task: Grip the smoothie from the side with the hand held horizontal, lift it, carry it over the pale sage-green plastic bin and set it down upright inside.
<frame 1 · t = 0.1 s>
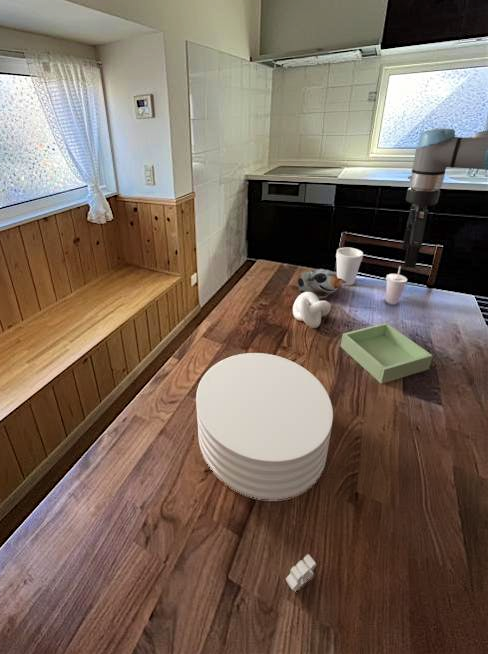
hand: (408, 257, 102), 23 cm above the table, tool pointing down, fingers open, 13 cm apart
plate stack: (260, 435, 76), on the table
white puffy blob: (311, 321, 113), on the table
bin: (382, 357, 96), on the table
smoothie: (391, 301, 121), on the table
foam cup: (345, 281, 136), on the table
white stepped block: (299, 582, 53), on the table
grey animal head: (319, 293, 129), on the table
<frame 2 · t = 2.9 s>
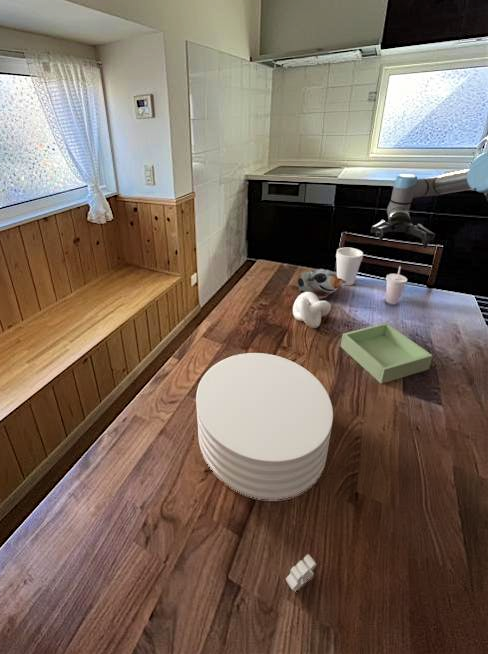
hand: (403, 241, 118), 20 cm above the table, tool horizontal, fingers open, 13 cm apart
nothing on the table moved.
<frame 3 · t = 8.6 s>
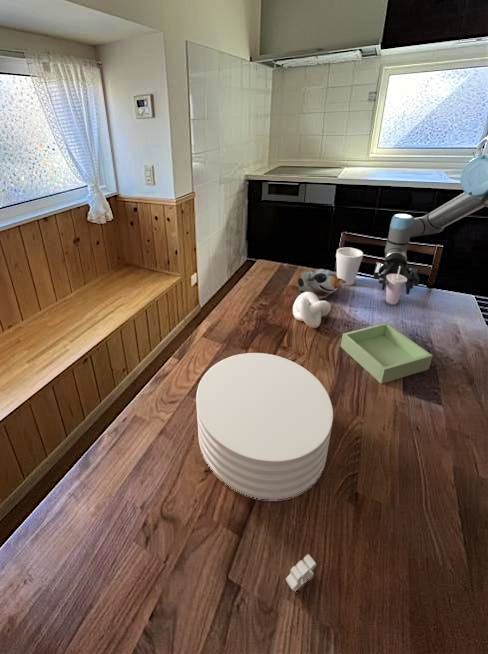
hand: (395, 288, 114), 8 cm above the table, tool horizontal, fingers closed on smoothie, 6 cm apart
smoothie: (391, 301, 121), on the table, touching gripper
everything else where it was.
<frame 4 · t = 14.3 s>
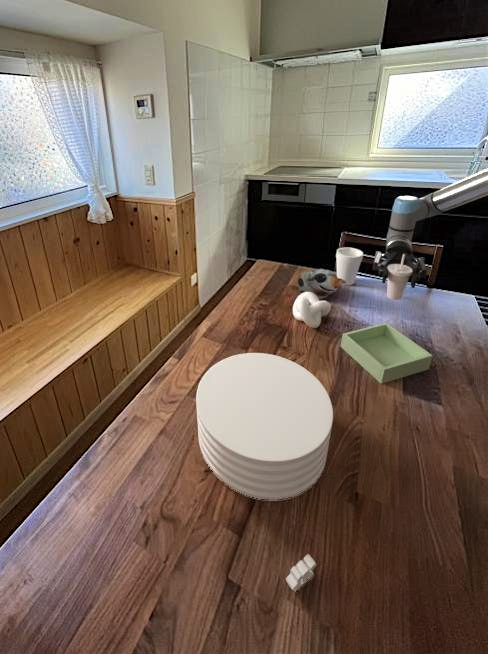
hand: (399, 281, 95), 20 cm above the table, tool horizontal, fingers closed on smoothie, 6 cm apart
smoothie: (393, 297, 102), point 12 cm above the table, touching gripper
everything else where it was.
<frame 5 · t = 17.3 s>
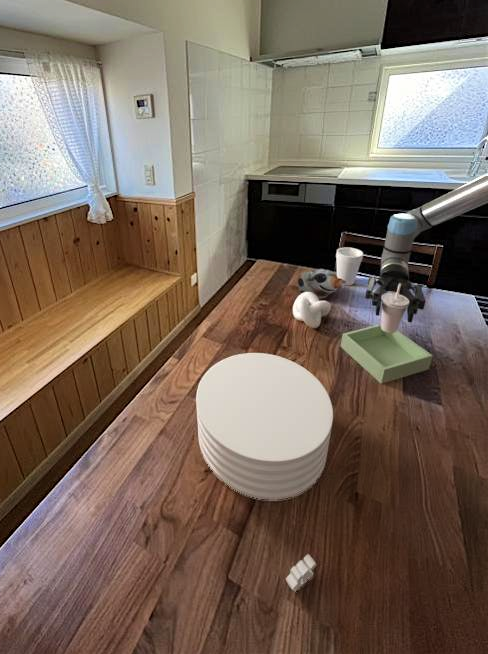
hand: (394, 314, 85), 18 cm above the table, tool horizontal, fingers closed on smoothie, 6 cm apart
smoothie: (388, 329, 92), point 10 cm above the table, touching gripper
everything else where it was.
when the fingers open (9 cm above the table, at t = 20.0 s): smoothie stays where it is, resting on bin.
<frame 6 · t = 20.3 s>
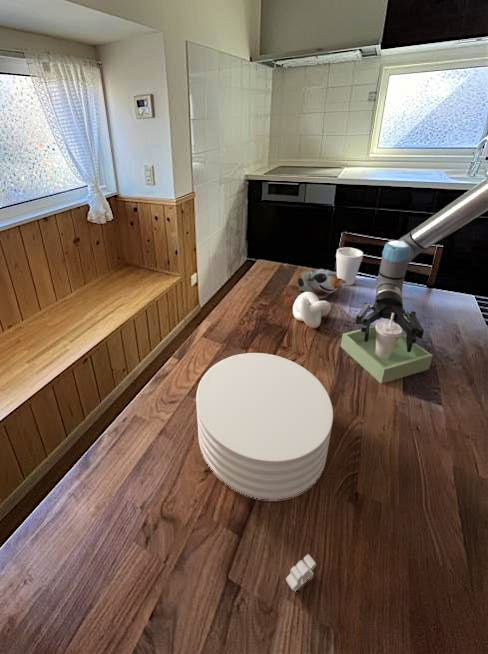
hand: (387, 342, 89), 9 cm above the table, tool horizontal, fingers open, 9 cm apart
smoothie: (382, 355, 95), point 1 cm above the table, touching bin
everything else where it was.
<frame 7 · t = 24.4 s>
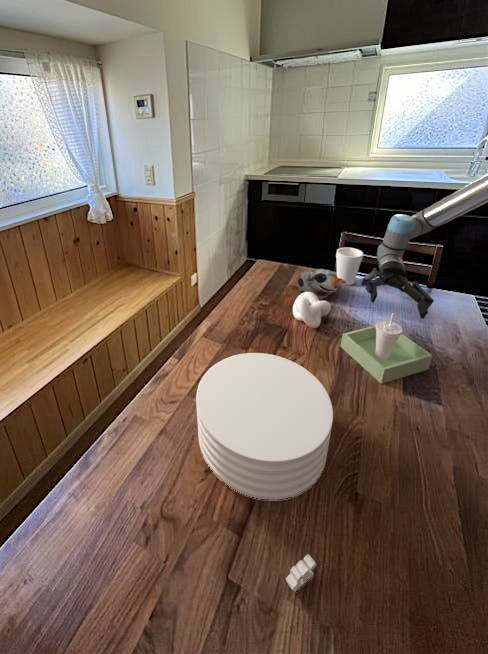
hand: (398, 307, 98), 11 cm above the table, tool horizontal, fingers open, 13 cm apart
nothing on the table moved.
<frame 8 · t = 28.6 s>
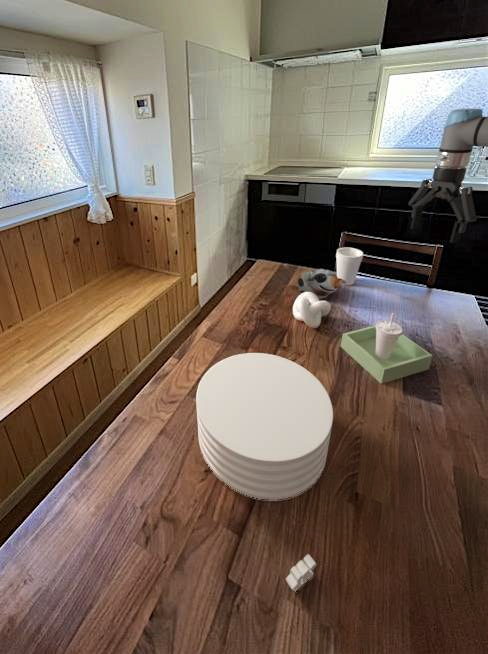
hand: (433, 234, 107), 27 cm above the table, tool pointing down, fingers open, 13 cm apart
nothing on the table moved.
at the end: smoothie inside the target area in the bin (0.0 cm from its centre), point 0.6 cm above the bin's base; smoothie tilted 0°; the gripper is holding nothing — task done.
